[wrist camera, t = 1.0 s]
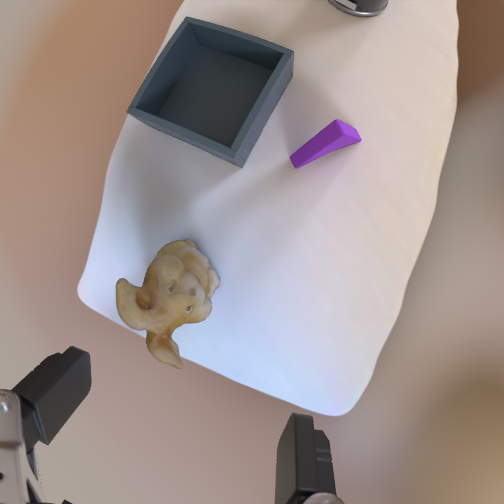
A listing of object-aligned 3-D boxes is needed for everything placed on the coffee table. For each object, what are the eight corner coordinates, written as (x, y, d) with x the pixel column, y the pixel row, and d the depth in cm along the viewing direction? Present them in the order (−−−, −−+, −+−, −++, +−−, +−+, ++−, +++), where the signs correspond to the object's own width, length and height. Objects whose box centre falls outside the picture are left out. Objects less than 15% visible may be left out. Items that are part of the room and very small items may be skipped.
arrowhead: (319, 149, 40) (379, 116, 32) (324, 160, 40) (385, 128, 32) (268, 162, 34) (336, 118, 26) (274, 175, 34) (344, 134, 26)
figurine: (247, 270, 38) (224, 305, 23) (209, 324, 39) (172, 382, 25) (180, 224, 38) (122, 232, 24) (147, 280, 40) (83, 314, 25)
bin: (199, 41, 35) (186, 16, 29) (292, 75, 35) (294, 50, 28) (149, 126, 37) (126, 112, 31) (242, 168, 37) (233, 158, 30)
